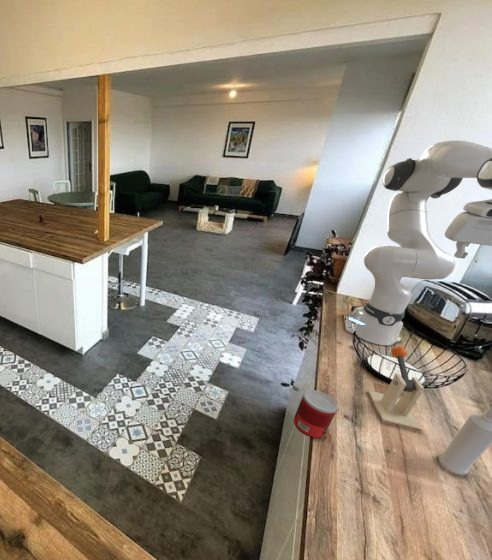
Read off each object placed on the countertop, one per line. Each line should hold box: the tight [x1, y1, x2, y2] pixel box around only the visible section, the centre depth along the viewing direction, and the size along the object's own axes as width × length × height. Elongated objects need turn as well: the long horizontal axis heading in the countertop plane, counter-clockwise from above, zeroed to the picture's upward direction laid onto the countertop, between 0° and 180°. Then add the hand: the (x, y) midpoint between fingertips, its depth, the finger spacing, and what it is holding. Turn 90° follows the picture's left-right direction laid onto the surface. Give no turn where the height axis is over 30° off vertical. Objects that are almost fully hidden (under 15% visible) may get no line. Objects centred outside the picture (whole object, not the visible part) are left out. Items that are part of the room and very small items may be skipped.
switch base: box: [367, 373, 425, 431], centre depth 92 cm, size 12×9×13 cm
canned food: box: [293, 389, 338, 439], centre depth 88 cm, size 8×8×11 cm
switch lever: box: [390, 346, 415, 392], centre depth 94 cm, size 14×4×4 cm, turn 158°
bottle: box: [438, 405, 492, 476], centre depth 74 cm, size 5×5×25 cm
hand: (479, 260), depth 84 cm, fingers open, 8 cm apart
